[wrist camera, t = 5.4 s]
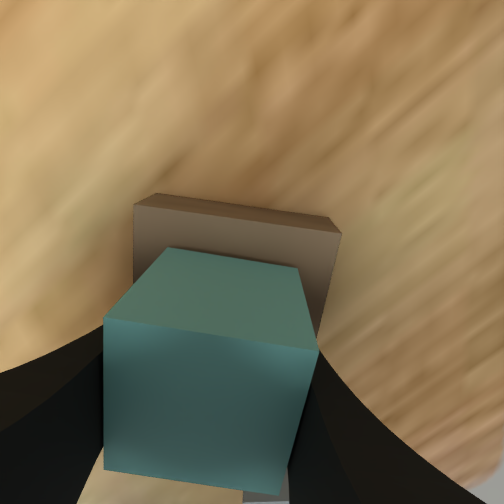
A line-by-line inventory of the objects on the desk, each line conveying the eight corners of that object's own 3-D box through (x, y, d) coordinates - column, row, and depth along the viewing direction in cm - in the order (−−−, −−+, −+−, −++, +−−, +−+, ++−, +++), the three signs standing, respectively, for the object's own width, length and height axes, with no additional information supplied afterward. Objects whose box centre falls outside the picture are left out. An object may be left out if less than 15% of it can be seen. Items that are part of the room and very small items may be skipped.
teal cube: (273, 372, 14) (278, 495, 9) (159, 355, 13) (103, 469, 9) (297, 268, 12) (319, 351, 7) (167, 246, 12) (103, 317, 7)
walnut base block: (296, 354, 17) (302, 396, 15) (154, 334, 17) (133, 372, 15) (327, 215, 15) (341, 233, 12) (159, 191, 15) (133, 204, 12)
